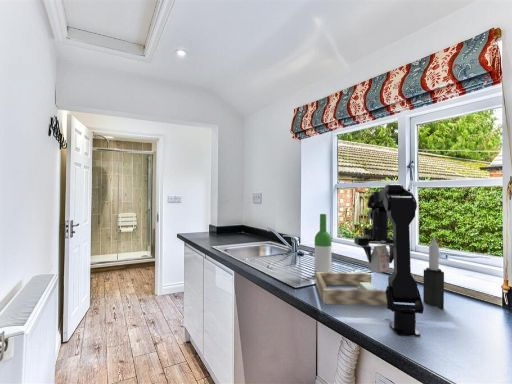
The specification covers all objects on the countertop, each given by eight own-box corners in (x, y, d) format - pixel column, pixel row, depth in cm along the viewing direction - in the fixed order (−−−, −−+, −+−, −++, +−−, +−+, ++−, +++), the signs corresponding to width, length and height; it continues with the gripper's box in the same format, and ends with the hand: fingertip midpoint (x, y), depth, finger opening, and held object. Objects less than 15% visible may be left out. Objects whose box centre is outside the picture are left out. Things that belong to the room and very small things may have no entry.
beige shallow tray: (370, 287, 124) (370, 273, 124) (390, 308, 102) (390, 291, 102) (315, 285, 126) (315, 272, 126) (323, 306, 104) (323, 290, 103)
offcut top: (369, 287, 120) (369, 282, 120) (384, 300, 106) (384, 294, 106) (359, 287, 120) (359, 282, 120) (373, 300, 106) (373, 294, 106)
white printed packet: (370, 270, 116) (370, 245, 116) (381, 268, 119) (381, 243, 119) (378, 273, 113) (378, 247, 112) (389, 270, 116) (389, 245, 116)
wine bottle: (320, 281, 132) (320, 215, 132) (311, 276, 140) (311, 213, 139) (334, 279, 135) (335, 214, 135) (324, 274, 142) (325, 213, 142)
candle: (433, 310, 101) (434, 238, 101) (421, 304, 106) (422, 235, 106) (445, 308, 102) (446, 237, 102) (433, 303, 107) (433, 235, 107)
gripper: (395, 221, 123) (395, 258, 123) (350, 221, 124) (350, 257, 124) (408, 224, 112) (407, 265, 112) (358, 224, 113) (358, 264, 113)
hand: (380, 262), depth 116 cm, fingers closed on white printed packet, 8 cm apart
